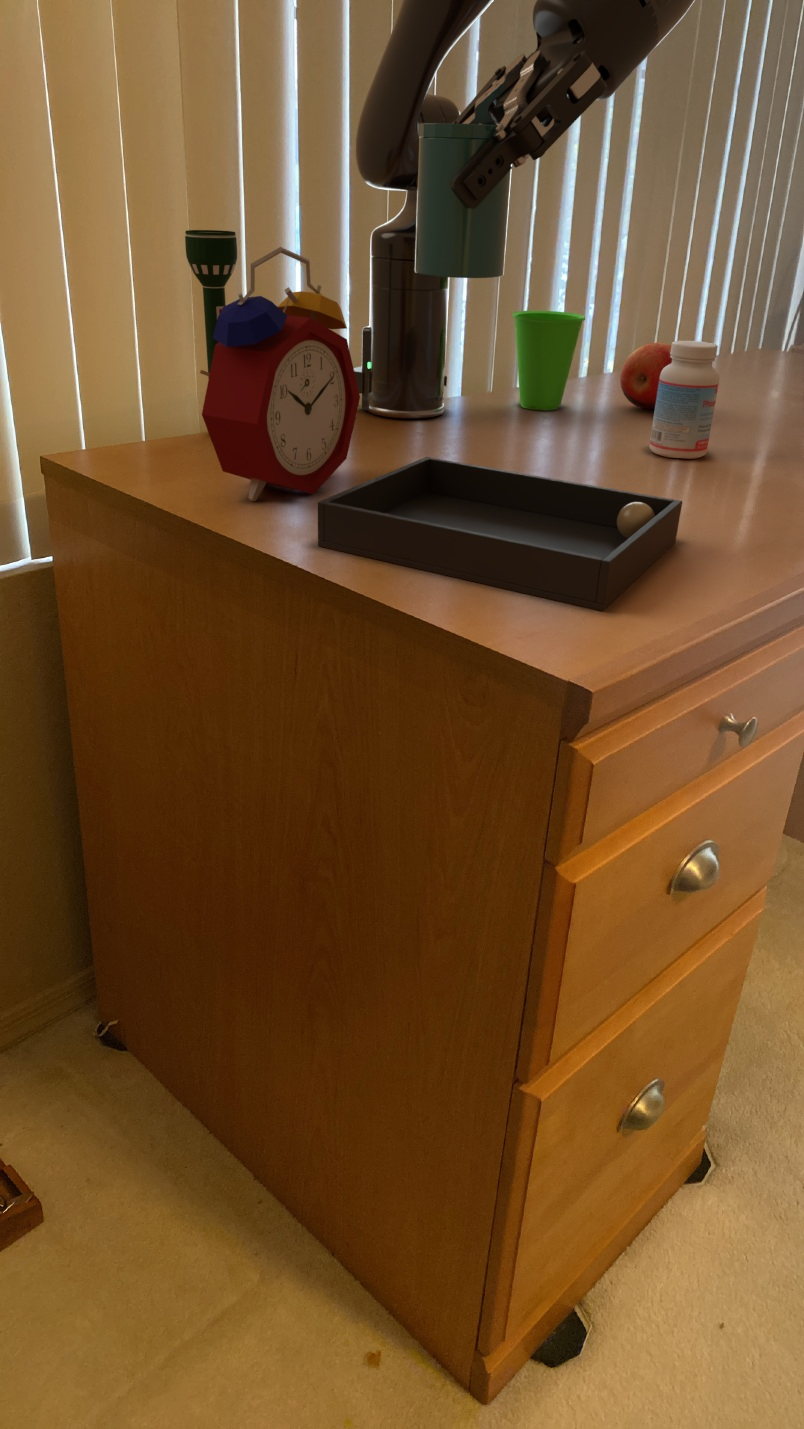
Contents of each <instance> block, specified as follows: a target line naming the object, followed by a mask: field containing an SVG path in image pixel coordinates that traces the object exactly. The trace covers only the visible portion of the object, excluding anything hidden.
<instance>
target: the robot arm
mask: <svg viewBox="0 0 804 1429" xmlns="http://www.w3.org/2000/svg"><path fill="white" fill-rule="evenodd" d="M494 1H495V0H402V1H401V4H400V7H399V10H398V13H397V16H396V19H395V22H394V25H393V27H392V30H391V33H390V36H389V38H388V40H387V43H386V46H385V49H384V51H383V54H382V56H381V58H380V60H379V64H378V66H377V69H376V72H375V74H374V77H373V78H372V82H371V84H370V87H369V90H368V92H367V95H366V96H365V99H364V102H363V106H362V108H361V112H360V115H359V120H358V123H357V128H356V135H355V143H354V144H355V146H354V147H355V149H354V151H355V152H354V153H355V154H354V156H355V162H356V167H357V170H358V173H359V175H360V177H361V179H362V180H363V182H364V183H366V184H367V185H368V186H371V187H372V188H375V189H378V190H387V191H403V192H404V191H405V192H406V196H405V201H404V205H403V207H402V209H401V210H400V211H399V213H397V215H396V216H395V217H393V218H392V219H390V220H388V221H387V222H385V223H383V224H381V225H378V226H377V227H375V228H374V229H373V231H372V232H371V235H370V242H369V243H370V247H369V250H370V251H369V252H370V253H369V256H370V257H369V259H370V260H369V268H370V269H369V321H368V322H369V323H368V324H369V325H368V326H364V327H363V328H362V331H361V366H357V367H353V368H354V373H355V377H356V381H357V386H358V390H359V394H361V399H360V400H361V403H360V404H361V405H360V406H361V411H365V412H369V413H371V414H373V415H376V416H381V417H385V418H392V419H410V420H411V419H426V418H427V419H428V418H435V417H437V416H440V415H442V414H443V413H445V412H444V410H445V404H444V399H445V387H447V386H448V385H447V383H448V376H447V375H445V374H446V357H447V354H446V353H447V335H448V319H449V318H448V317H449V315H448V314H449V296H450V277H439V276H430V275H423V274H419V273H416V272H415V250H416V221H417V192H418V163H419V124H420V123H458V124H484V125H498V126H497V127H496V129H495V131H494V133H493V135H492V136H493V137H494V139H495V140H496V141H495V142H494V141H493V140H492V139H488V140H487V141H486V142H485V143H484V144H483V145H482V146H481V148H480V149H479V150H478V151H477V152H476V153H475V154H474V155H473V156H472V157H471V159H470V160H469V161H468V162H467V163H466V164H465V165H464V166H463V167H462V169H461V170H460V171H459V172H458V173H457V174H456V175H455V176H454V178H453V179H452V180H451V184H450V186H451V189H452V191H453V192H454V194H455V195H456V196H457V197H458V199H459V200H460V201H461V203H462V204H463V205H464V207H466V208H471V209H474V208H476V207H477V206H478V205H479V204H480V203H481V202H482V201H483V200H484V198H485V197H486V196H487V195H488V194H489V193H490V192H491V191H492V190H493V189H494V187H495V186H496V185H497V184H498V183H499V182H500V181H501V180H502V179H503V178H504V176H505V175H506V174H507V173H508V172H509V171H510V170H511V171H512V170H513V168H519V167H520V166H522V165H524V164H525V163H526V162H527V161H528V158H529V157H530V159H532V161H536V160H538V159H540V158H542V157H543V156H544V155H545V154H546V152H547V151H548V150H549V149H550V148H551V147H552V146H553V145H554V144H555V143H556V141H558V140H559V138H560V137H561V136H562V135H563V134H564V133H565V132H566V131H568V129H569V128H570V127H571V126H572V125H574V123H575V122H576V121H577V120H578V119H579V118H580V117H581V116H582V115H583V114H584V113H585V111H587V110H588V109H589V108H590V106H591V105H593V103H594V102H595V101H603V100H607V99H609V98H611V96H613V95H614V94H615V92H616V91H617V90H618V89H619V88H620V87H622V85H623V84H624V83H625V82H626V81H627V80H628V78H629V77H630V76H631V75H632V74H633V73H634V72H635V71H636V70H637V68H638V67H639V66H640V65H641V64H642V63H643V62H644V61H645V60H646V59H647V57H649V55H650V54H651V53H652V52H653V51H654V50H655V49H656V48H657V46H658V45H659V44H660V43H662V41H663V40H664V39H665V38H666V37H667V36H668V35H669V33H671V32H672V30H673V29H674V28H675V27H676V26H677V25H678V24H679V23H680V21H681V20H682V19H683V18H684V16H685V15H686V14H687V13H688V11H689V10H690V8H691V7H692V5H693V4H694V3H695V1H696V0H536V1H535V4H534V6H533V10H532V25H533V29H534V31H535V34H536V41H537V43H536V44H537V45H536V49H535V50H534V51H533V52H532V53H531V54H530V55H528V56H526V54H525V53H522V54H520V55H518V57H517V58H515V59H514V60H513V61H512V62H511V63H510V64H509V65H508V66H506V65H503V66H501V67H498V68H497V69H496V70H495V71H494V74H493V75H492V76H491V77H490V79H489V80H488V81H487V82H486V83H485V85H484V86H482V88H481V89H480V90H479V92H478V93H477V94H476V96H475V97H473V99H472V100H471V101H470V102H469V104H467V106H466V107H465V108H464V109H463V111H462V112H460V109H459V108H458V106H457V105H456V103H455V102H454V101H453V100H452V99H451V98H448V97H446V96H442V95H438V94H428V93H429V90H430V89H431V85H432V83H433V81H434V78H435V76H436V74H437V72H438V71H439V68H440V67H441V65H442V63H443V61H444V60H445V58H446V57H447V56H448V54H449V52H450V51H451V49H453V47H454V46H455V45H457V43H458V41H460V39H461V38H462V37H463V36H464V34H466V32H467V31H469V29H470V28H471V27H472V26H473V25H474V24H475V23H476V22H477V21H478V19H479V18H480V17H481V16H482V15H483V14H484V13H485V12H486V11H487V10H488V8H489V7H490V6H491V5H492V3H494ZM511 164H512V167H511Z"/></svg>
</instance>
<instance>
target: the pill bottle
mask: <svg viewBox="0 0 804 1429" xmlns="http://www.w3.org/2000/svg"><path fill="white" fill-rule="evenodd" d="M671 345H672V347H671V352H670V354H671V356H670V357H671V358H672V363H671V364H669V365H667V366H666V367H664V368H663V370H662V371H661V374H660V379H659V386H658V392H657V399H656V405H655V408H654V412H653V419H652V424H651V425H652V426H651V431H650V440H649V446H648V447H649V450H650V451H651V452H652V453H653V454H656V455H658V456H661V457H665V458H670V459H671V458H672V459H673V458H674V459H686V460H687V459H689V460H690V459H691V460H692V459H699V458H702V457H704V456H705V455H707V451H708V447H709V442H710V435H711V429H712V424H713V418H714V413H715V407H716V402H717V396H718V389H719V385H720V374H719V371H718V370H717V369H716V368H715V367H713V362H715V361H716V358H717V354H718V347H719V346H718V344H717V343H713V342H707V341H699V340H697V341H696V340H675V341H672V343H671Z"/></svg>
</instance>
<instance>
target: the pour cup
mask: <svg viewBox="0 0 804 1429" xmlns="http://www.w3.org/2000/svg"><path fill="white" fill-rule="evenodd" d="M497 126H498V125H484V124H458V123H420V124H419V163H418V192H417V221H416V250H415V272H416V273H419V274H423V275H430V276H439V277H449V278H453V279H455V278H457V279H491V278H493V279H494V278H500V277H502V276H504V274H505V261H506V260H505V259H506V248H507V234H508V223H509V222H508V221H509V220H508V219H509V210H510V209H509V207H510V194H511V193H510V192H511V180H512V169H511V170H510V171H509V172H508V173H507V174H506V175H505V176H504V178H503V179H502V180H501V181H500V182H499V183H498V184H497V185H496V186H495V187H494V189H493V190H492V191H491V192H490V193H489V194H488V195H487V196H486V197H485V198H484V200H483V201H482V202H481V203H480V204H479V205H478V206H477V207H476V208H474V209H471V208H466V207H464V205H463V204H462V203H461V201H460V200H459V199H458V197H457V196H456V195H455V194H454V192H453V191H452V189H451V186H450V184H451V180H452V179H453V178H454V176H455V175H456V174H457V173H458V172H459V171H460V170H461V169H462V167H463V166H464V165H465V164H466V163H467V162H468V161H469V160H470V159H471V157H472V156H473V155H474V154H475V153H476V152H477V151H478V150H479V149H480V148H481V146H482V145H483V144H484V143H485V142H486V141H487V140H488V139H492V140H493V141H494V142H495V141H496V140H495V139H494V137H493V136H492V135H493V133H494V131H495V129H496V127H497ZM511 167H512V168H513V164H511Z"/></svg>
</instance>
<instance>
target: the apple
mask: <svg viewBox="0 0 804 1429" xmlns="http://www.w3.org/2000/svg"><path fill="white" fill-rule="evenodd" d="M671 347H672V344H670V343H665V342H651V343H647V344H644V345H642V346H639V347H638V348H637V349H635V350H633V352H632V353H631V354H629V356H628V357H627V358H626V359H625V361H624V364H623V366H622V369H621V373H620V378H619V380H620V389H621V391H622V393H623V395H624V397H625V398H626V400H627V401H628V402H630V404H632V405H634V406H635V407H638V408H641V409H647V410H649V409H655V405H656V399H657V392H658V386H659V379H660V374H661V371H662V370H663V368H664V367H666V366H667V365H669V364H671V363H672V358H671V357H670V356H671V354H670V352H671Z"/></svg>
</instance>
